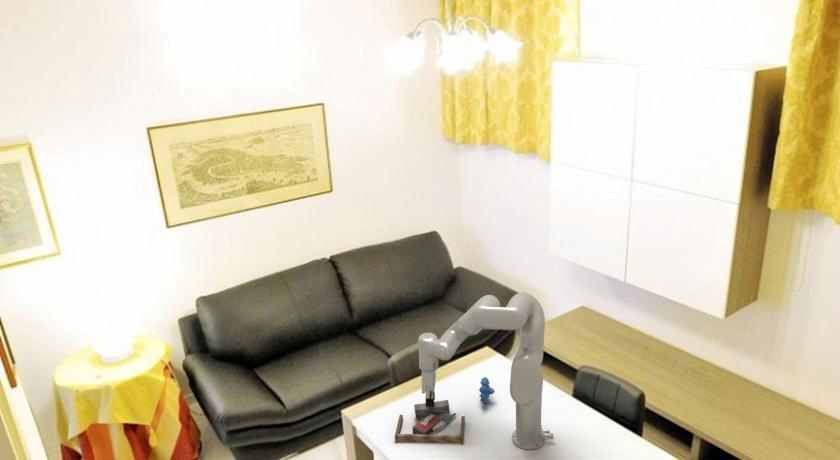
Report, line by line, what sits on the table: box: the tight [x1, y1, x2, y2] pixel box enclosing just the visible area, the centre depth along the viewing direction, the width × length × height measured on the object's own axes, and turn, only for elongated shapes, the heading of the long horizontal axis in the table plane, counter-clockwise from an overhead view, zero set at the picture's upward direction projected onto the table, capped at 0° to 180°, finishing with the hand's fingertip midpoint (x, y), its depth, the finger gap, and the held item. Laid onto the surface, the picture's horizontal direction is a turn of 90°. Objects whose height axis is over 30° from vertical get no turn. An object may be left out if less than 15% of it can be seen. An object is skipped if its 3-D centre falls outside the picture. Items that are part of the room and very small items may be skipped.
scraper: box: [413, 393, 450, 419], centre depth 248 cm, size 14×3×13 cm, turn 93°
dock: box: [394, 414, 466, 445], centre depth 242 cm, size 26×14×3 cm, turn 83°
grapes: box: [478, 376, 496, 405], centre depth 257 cm, size 12×7×12 cm, turn 167°
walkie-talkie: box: [412, 412, 457, 435], centre depth 246 cm, size 9×4×20 cm
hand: (430, 402), depth 247 cm, fingers closed on scraper, 3 cm apart
